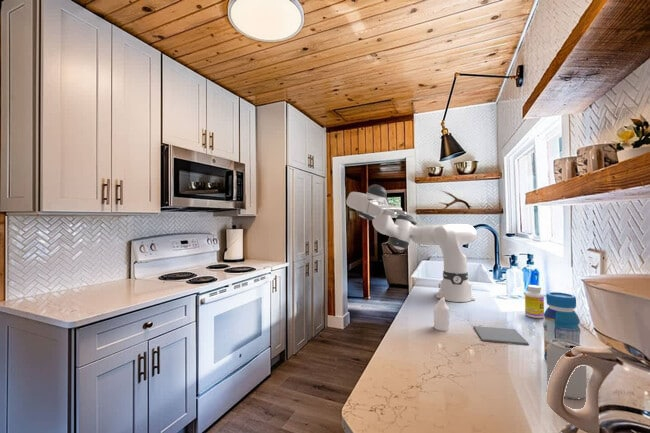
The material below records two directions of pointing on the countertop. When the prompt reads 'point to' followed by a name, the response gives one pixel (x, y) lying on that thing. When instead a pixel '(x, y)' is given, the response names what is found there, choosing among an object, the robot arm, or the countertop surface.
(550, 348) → the can
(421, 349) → the countertop surface
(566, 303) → the beverage bottle
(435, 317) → the white piece
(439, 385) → the countertop surface
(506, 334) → the mat
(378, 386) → the countertop surface
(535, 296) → the supplement bottle
